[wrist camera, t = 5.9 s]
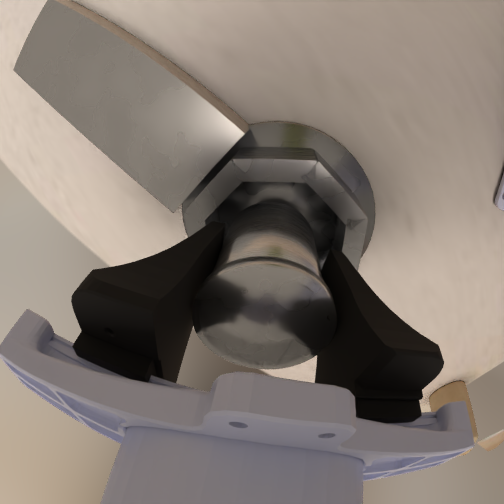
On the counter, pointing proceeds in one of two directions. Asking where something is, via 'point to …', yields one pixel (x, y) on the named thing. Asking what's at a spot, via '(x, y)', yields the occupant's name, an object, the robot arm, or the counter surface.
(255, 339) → the metal knob
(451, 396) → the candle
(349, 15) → the counter surface
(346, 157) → the grey piece
